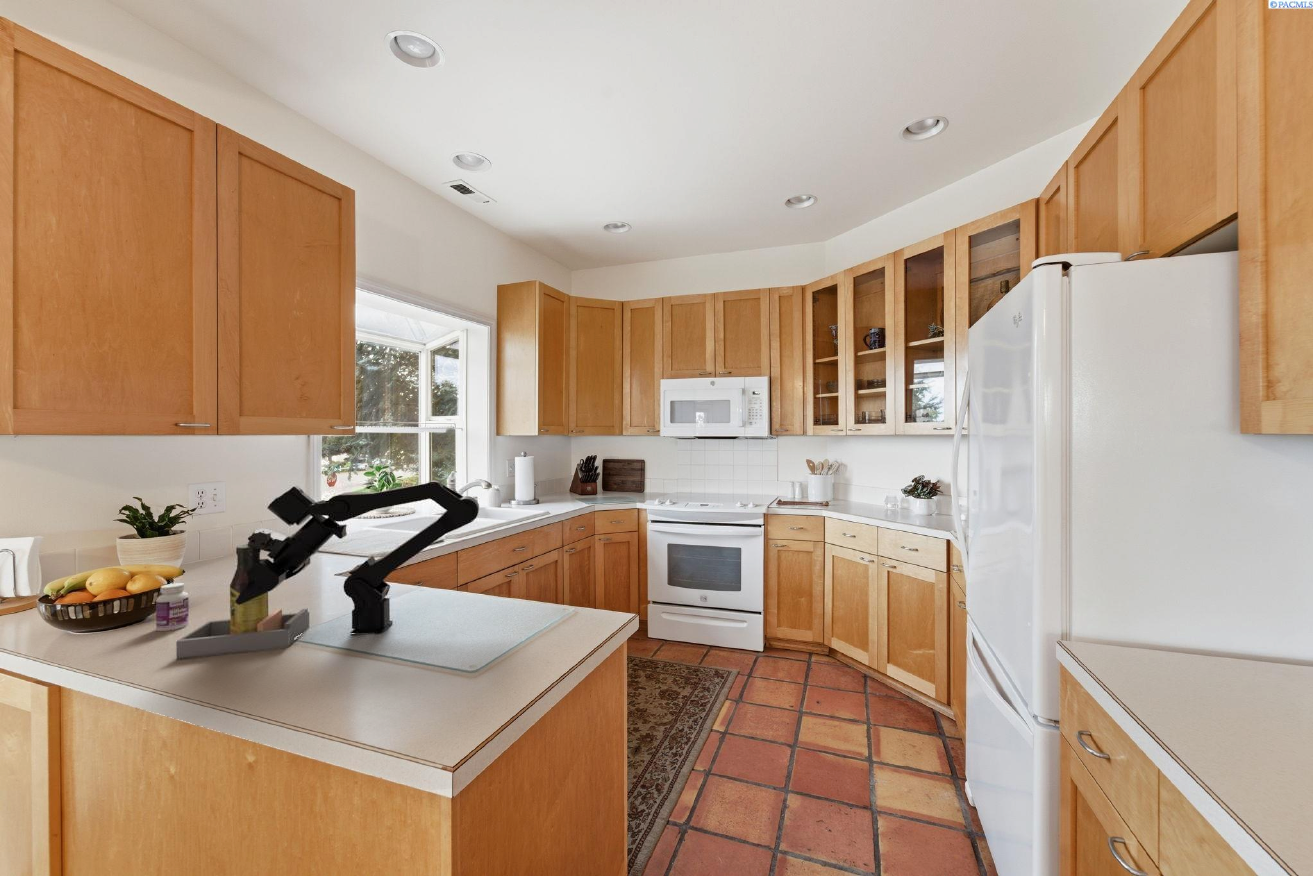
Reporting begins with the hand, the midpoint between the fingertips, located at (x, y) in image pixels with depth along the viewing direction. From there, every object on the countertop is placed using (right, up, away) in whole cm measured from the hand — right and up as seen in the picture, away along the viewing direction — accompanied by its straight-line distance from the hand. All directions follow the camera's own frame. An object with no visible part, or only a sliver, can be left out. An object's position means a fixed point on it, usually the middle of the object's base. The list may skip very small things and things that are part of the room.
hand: (248, 596), depth 108 cm
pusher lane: (-1, -9, 0) cm, 10 cm away
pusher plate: (+4, -9, +1) cm, 10 cm away
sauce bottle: (0, -9, 0) cm, 9 cm away
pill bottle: (-24, -10, +9) cm, 28 cm away
